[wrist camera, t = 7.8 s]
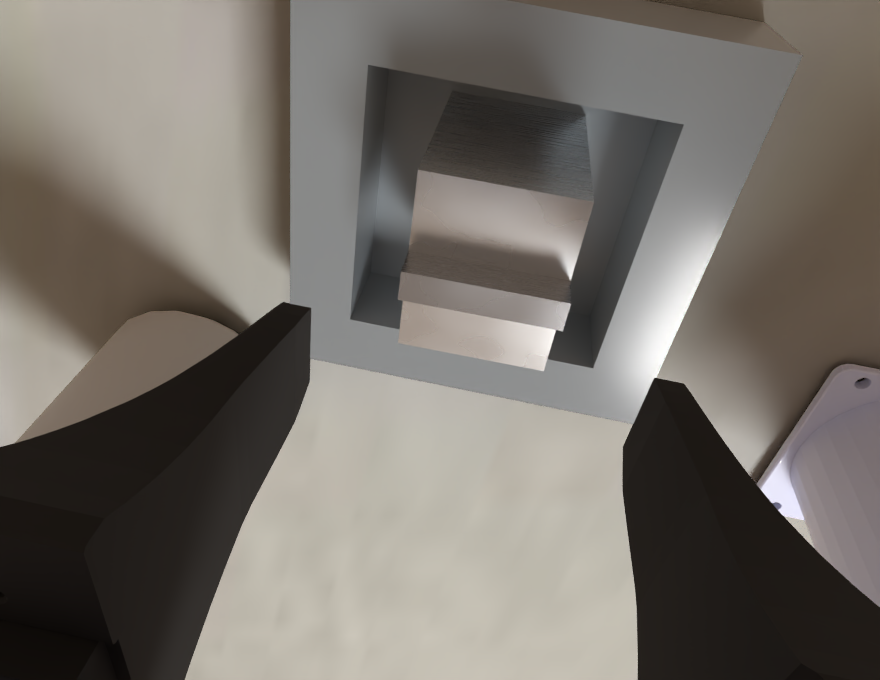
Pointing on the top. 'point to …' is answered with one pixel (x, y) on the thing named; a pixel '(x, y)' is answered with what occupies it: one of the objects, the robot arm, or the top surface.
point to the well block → (540, 84)
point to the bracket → (496, 230)
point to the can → (133, 365)
